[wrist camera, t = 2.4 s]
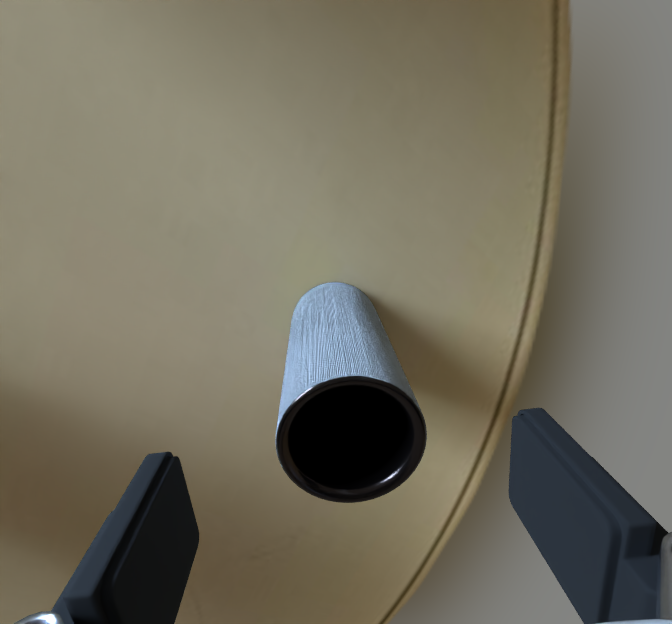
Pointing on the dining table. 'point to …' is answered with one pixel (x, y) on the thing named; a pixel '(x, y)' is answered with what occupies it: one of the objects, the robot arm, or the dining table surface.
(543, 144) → the dining table surface
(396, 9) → the dining table surface
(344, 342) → the grey cylinder tube
